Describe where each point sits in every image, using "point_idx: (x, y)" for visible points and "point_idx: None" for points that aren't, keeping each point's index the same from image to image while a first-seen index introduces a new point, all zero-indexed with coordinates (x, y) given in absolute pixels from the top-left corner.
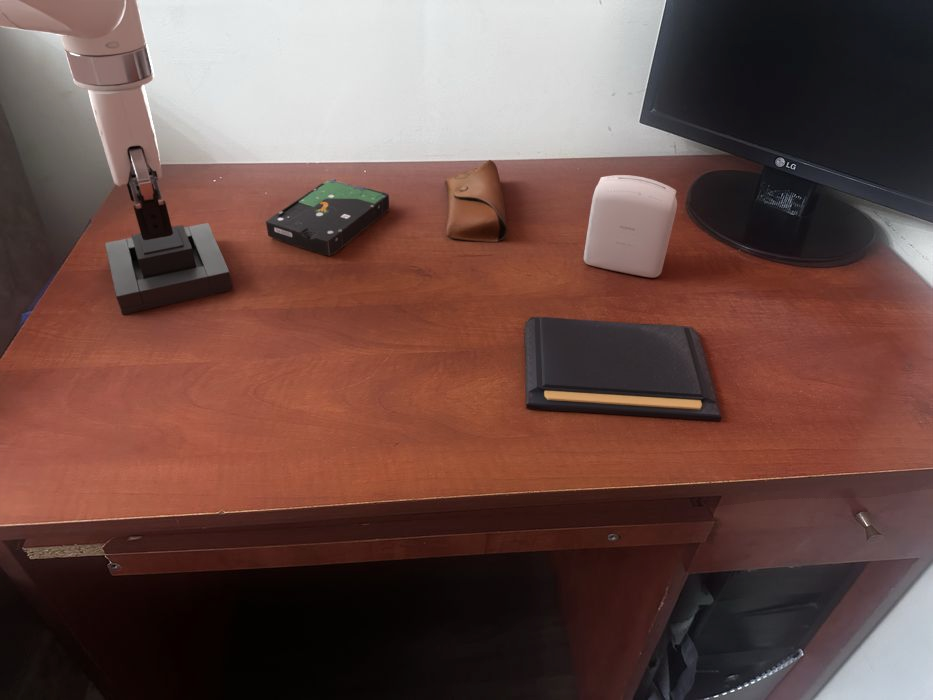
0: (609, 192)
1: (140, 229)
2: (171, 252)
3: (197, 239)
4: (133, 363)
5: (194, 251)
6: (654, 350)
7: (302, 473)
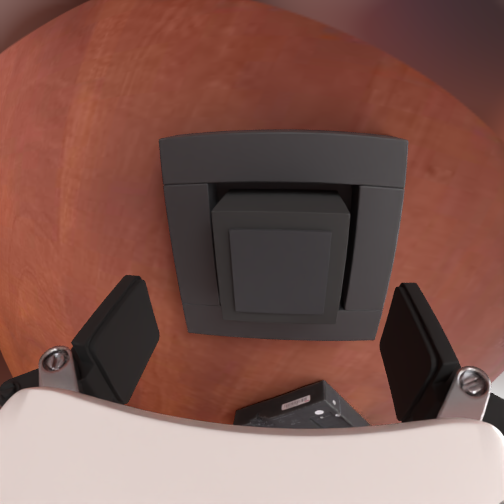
0: None
1: (110, 293)
2: (219, 283)
3: None
4: (66, 154)
5: None
6: None
7: None
